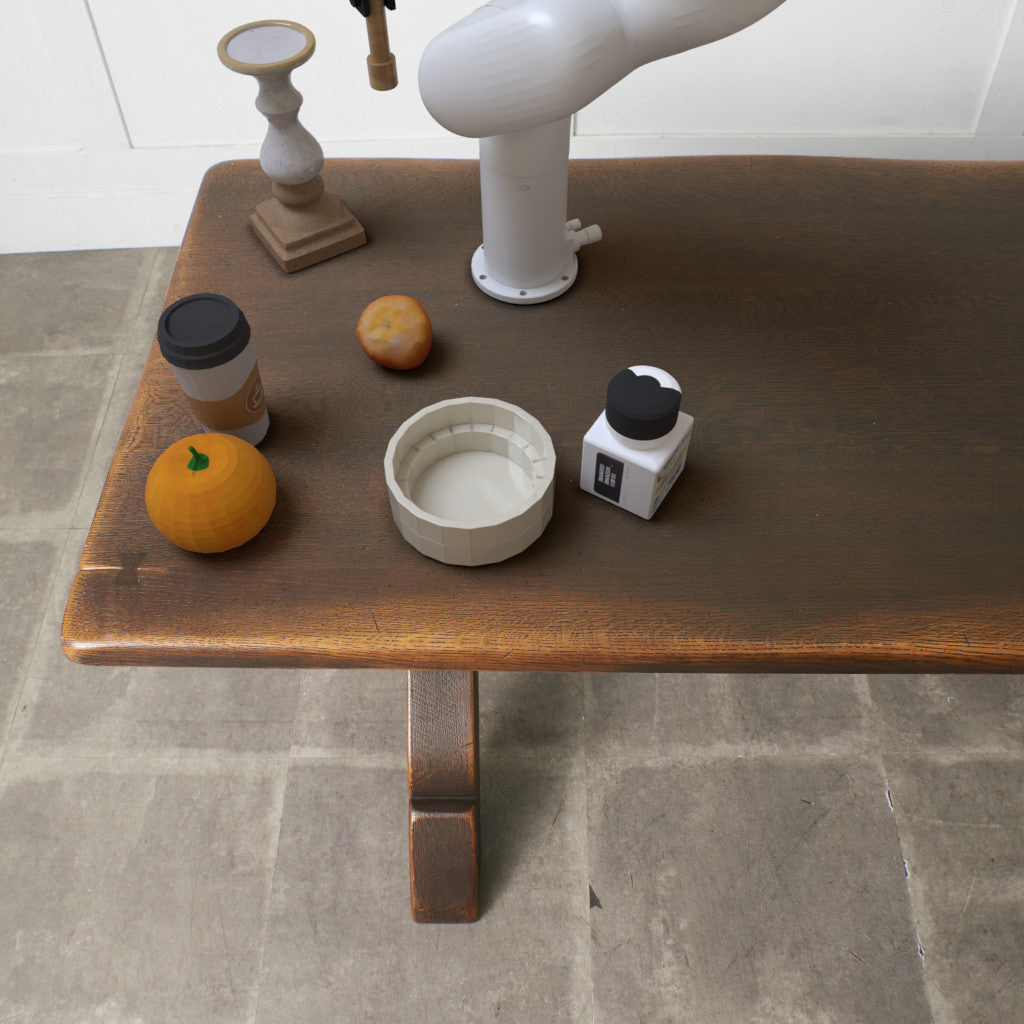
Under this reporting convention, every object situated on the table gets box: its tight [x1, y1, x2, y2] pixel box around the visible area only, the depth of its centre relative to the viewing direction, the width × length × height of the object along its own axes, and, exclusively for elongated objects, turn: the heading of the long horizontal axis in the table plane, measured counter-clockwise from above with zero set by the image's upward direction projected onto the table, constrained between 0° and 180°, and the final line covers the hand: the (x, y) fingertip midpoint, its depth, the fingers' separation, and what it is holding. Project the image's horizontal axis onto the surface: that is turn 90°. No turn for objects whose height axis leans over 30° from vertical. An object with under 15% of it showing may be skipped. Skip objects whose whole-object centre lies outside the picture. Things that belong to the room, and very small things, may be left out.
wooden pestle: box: [364, 0, 399, 92], centre depth 100 cm, size 3×3×14 cm
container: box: [579, 365, 695, 520], centre depth 87 cm, size 8×8×13 cm
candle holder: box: [216, 19, 367, 274], centre depth 106 cm, size 11×11×24 cm
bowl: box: [383, 396, 557, 567], centre depth 88 cm, size 16×16×6 cm
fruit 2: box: [355, 294, 433, 371], centre depth 101 cm, size 8×8×8 cm
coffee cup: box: [156, 292, 270, 447], centre depth 90 cm, size 8×8×15 cm
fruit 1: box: [144, 432, 277, 554], centre depth 86 cm, size 12×12×10 cm
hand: (374, 7), depth 98 cm, fingers closed on wooden pestle, 2 cm apart
